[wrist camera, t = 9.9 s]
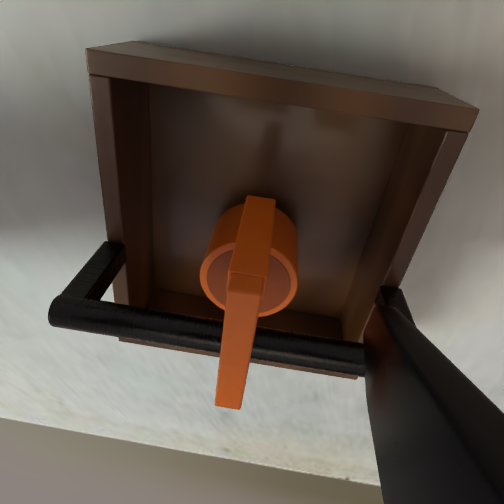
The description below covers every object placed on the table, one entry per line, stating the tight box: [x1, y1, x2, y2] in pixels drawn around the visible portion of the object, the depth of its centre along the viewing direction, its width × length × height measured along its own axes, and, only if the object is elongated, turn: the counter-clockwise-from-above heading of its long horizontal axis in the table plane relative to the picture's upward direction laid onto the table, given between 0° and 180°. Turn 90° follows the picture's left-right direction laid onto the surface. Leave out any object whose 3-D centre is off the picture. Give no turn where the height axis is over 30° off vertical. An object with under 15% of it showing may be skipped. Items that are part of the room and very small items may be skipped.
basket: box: [85, 41, 480, 380], centre depth 18 cm, size 14×15×4 cm
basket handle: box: [48, 241, 416, 377], centre depth 15 cm, size 14×1×5 cm, turn 83°
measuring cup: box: [200, 195, 298, 410], centre depth 15 cm, size 5×6×9 cm
